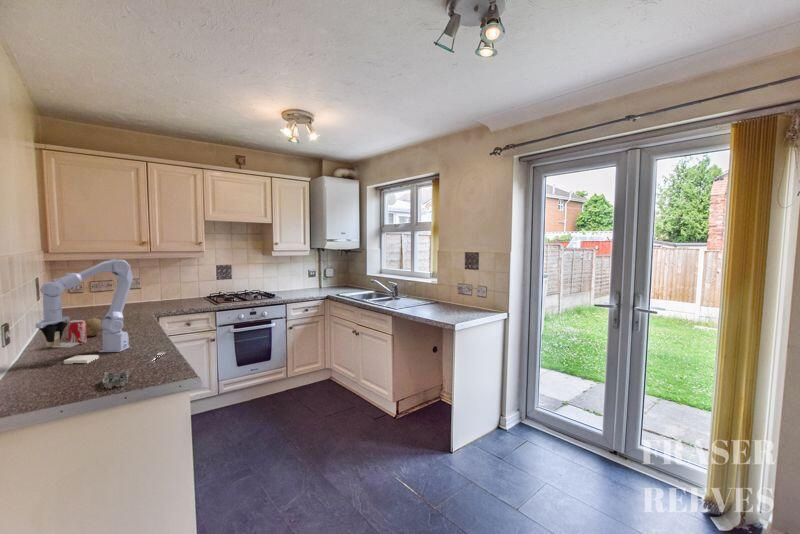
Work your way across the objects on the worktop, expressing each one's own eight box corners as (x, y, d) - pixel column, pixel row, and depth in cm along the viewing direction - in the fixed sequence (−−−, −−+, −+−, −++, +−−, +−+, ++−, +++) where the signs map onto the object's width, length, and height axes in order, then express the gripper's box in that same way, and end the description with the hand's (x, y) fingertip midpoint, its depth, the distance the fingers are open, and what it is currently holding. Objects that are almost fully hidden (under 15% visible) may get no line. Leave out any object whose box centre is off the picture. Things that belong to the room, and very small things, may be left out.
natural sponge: (105, 333, 202) (105, 315, 201) (103, 336, 194) (103, 318, 194) (84, 335, 197) (84, 317, 196) (82, 338, 189) (81, 320, 189)
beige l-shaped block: (79, 343, 157) (78, 330, 156) (70, 347, 152) (69, 333, 151) (54, 344, 155) (53, 330, 155) (44, 347, 150) (43, 333, 150)
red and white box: (75, 346, 176) (74, 322, 175) (64, 345, 177) (63, 321, 177) (90, 342, 183) (89, 319, 182) (79, 341, 184) (78, 318, 183)
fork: (137, 372, 145) (137, 367, 145) (157, 355, 164) (157, 352, 164) (147, 371, 146) (146, 367, 146) (165, 355, 165) (165, 351, 165)
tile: (76, 359, 158) (98, 359, 159) (63, 364, 151) (86, 364, 152) (76, 355, 158) (98, 354, 159) (63, 360, 151) (86, 360, 152)
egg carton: (105, 381, 134) (105, 370, 134) (130, 377, 138) (129, 367, 138) (101, 390, 125) (100, 379, 125) (128, 386, 129) (127, 375, 129)
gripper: (56, 306, 159) (58, 336, 160) (26, 313, 145) (28, 345, 145) (73, 306, 160) (75, 336, 161) (45, 313, 145) (47, 345, 146)
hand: (54, 340), depth 153 cm, fingers closed on beige l-shaped block, 3 cm apart
